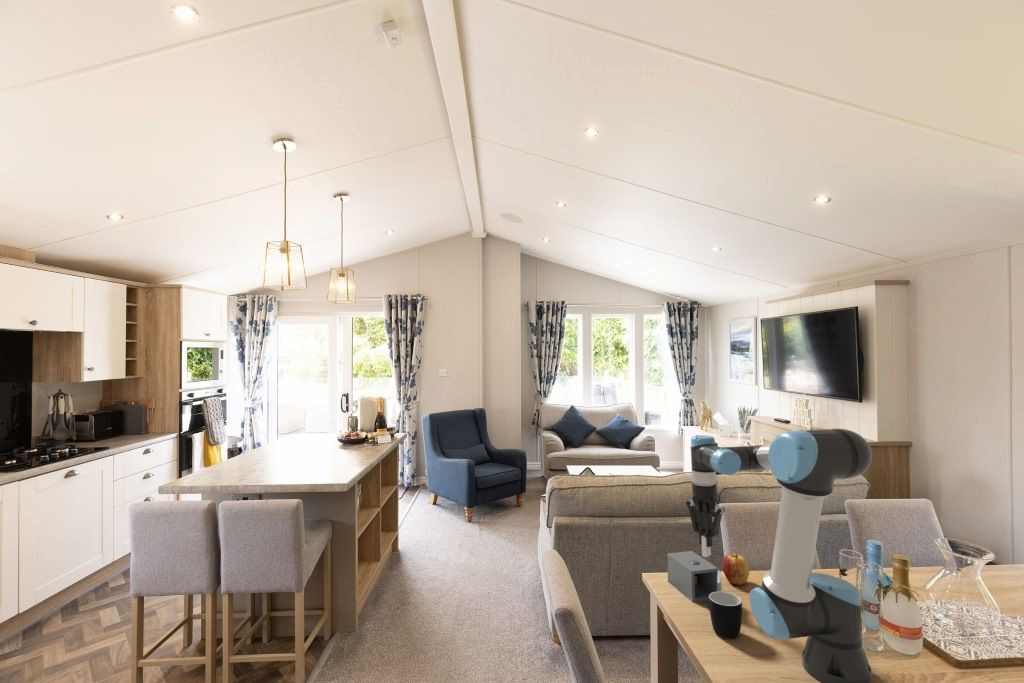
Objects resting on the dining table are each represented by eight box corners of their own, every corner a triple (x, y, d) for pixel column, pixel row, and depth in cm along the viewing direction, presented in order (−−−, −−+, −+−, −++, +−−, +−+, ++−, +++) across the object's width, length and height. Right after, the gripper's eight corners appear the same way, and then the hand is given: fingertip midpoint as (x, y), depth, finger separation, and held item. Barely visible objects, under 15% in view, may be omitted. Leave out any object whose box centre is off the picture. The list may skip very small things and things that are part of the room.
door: (723, 597, 167) (722, 570, 168) (723, 612, 158) (722, 583, 158) (718, 596, 168) (717, 569, 168) (718, 611, 158) (717, 582, 159)
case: (719, 598, 168) (718, 567, 168) (692, 602, 166) (691, 570, 166) (692, 578, 184) (691, 550, 184) (667, 581, 182) (666, 553, 182)
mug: (750, 639, 143) (748, 603, 144) (723, 644, 141) (722, 607, 141) (722, 618, 155) (720, 585, 155) (697, 623, 153) (696, 589, 153)
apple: (722, 576, 185) (721, 548, 186) (748, 579, 182) (747, 551, 182) (723, 586, 177) (722, 557, 177) (751, 590, 174) (750, 560, 174)
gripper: (728, 485, 162) (731, 558, 161) (693, 477, 172) (695, 547, 171) (716, 489, 157) (718, 565, 157) (680, 481, 168) (682, 552, 167)
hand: (706, 555), depth 164 cm, fingers closed
